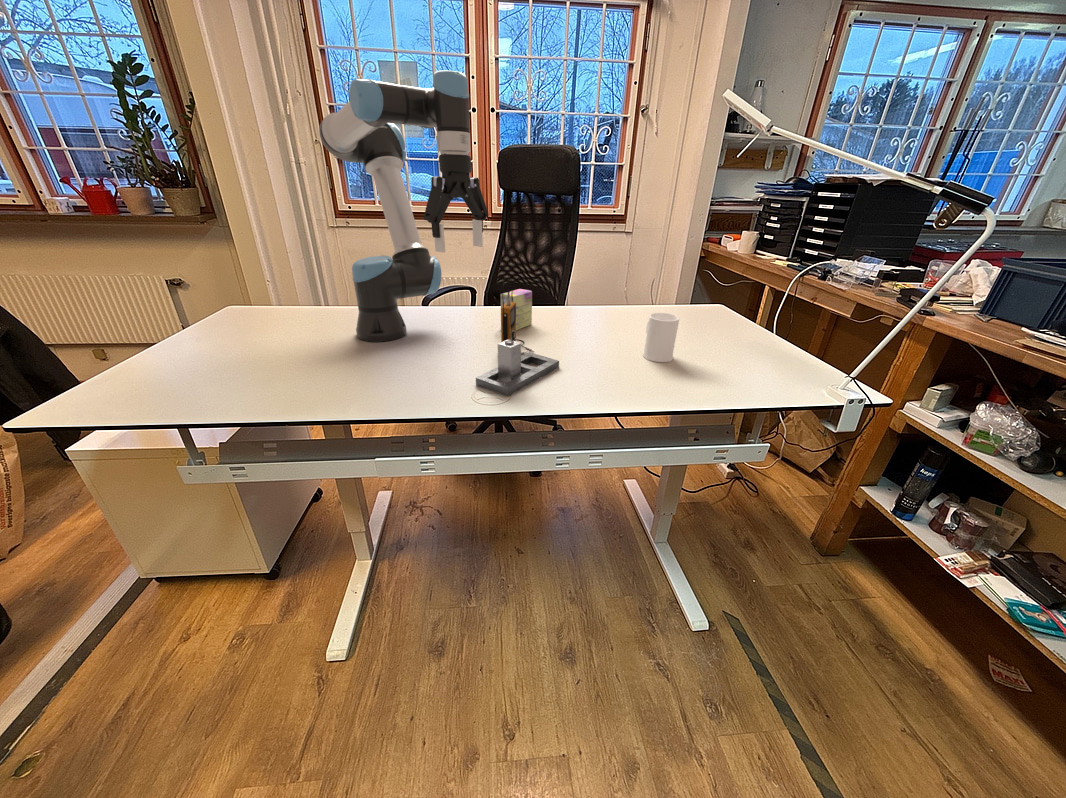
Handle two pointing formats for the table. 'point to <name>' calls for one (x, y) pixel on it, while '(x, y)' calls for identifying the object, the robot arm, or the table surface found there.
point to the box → (521, 306)
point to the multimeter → (509, 319)
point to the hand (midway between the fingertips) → (460, 249)
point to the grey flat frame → (522, 381)
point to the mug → (660, 337)
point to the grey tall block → (509, 361)
